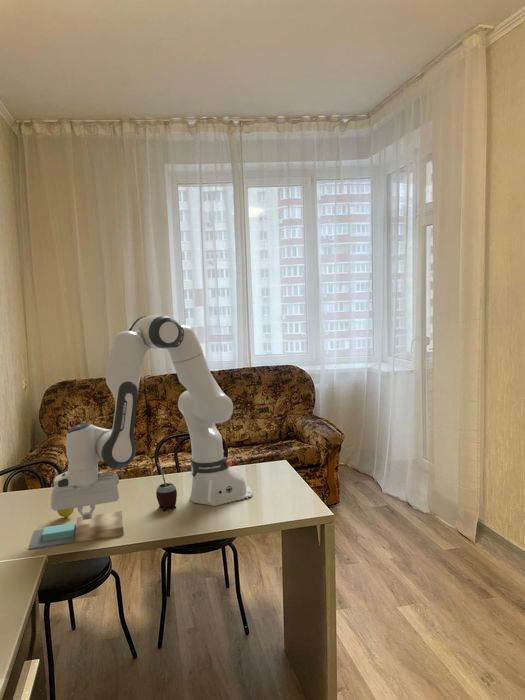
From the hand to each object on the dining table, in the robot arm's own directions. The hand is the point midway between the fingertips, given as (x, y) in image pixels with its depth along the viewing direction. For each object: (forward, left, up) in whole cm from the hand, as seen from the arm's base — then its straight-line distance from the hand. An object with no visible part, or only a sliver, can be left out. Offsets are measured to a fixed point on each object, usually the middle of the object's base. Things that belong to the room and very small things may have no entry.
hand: (87, 518), depth 169 cm
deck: (-3, 0, -4) cm, 5 cm away
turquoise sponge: (+9, 0, -4) cm, 9 cm away
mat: (+10, 0, -4) cm, 11 cm away
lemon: (+8, -15, -4) cm, 17 cm away
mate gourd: (-25, -11, -4) cm, 28 cm away
